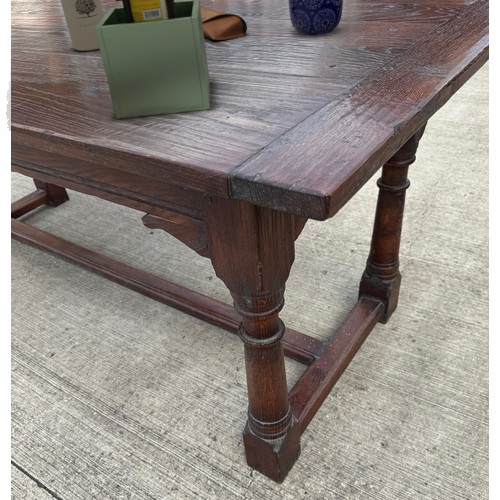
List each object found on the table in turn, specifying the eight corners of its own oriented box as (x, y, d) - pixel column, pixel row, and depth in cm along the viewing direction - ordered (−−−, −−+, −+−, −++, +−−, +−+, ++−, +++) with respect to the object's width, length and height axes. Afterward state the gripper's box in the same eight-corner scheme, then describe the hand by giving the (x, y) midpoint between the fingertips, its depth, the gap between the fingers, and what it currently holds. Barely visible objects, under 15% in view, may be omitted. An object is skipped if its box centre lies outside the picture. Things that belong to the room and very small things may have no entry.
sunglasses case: (173, 28, 117) (182, -2, 115) (198, 38, 121) (207, 10, 120) (214, 40, 104) (225, 7, 102) (240, 51, 109) (251, 20, 107)
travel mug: (74, 45, 114) (49, -48, 103) (110, 40, 115) (89, -52, 104) (73, 53, 107) (46, -44, 97) (111, 48, 108) (88, -49, 98)
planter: (284, 38, 103) (282, -23, 96) (295, 25, 111) (293, -32, 105) (338, 37, 100) (340, -26, 93) (345, 24, 108) (347, -35, 102)
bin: (116, 119, 74) (94, 27, 67) (128, 88, 85) (110, 7, 78) (209, 109, 74) (197, 17, 67) (209, 80, 85) (199, -2, 78)
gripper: (193, -194, 62) (216, 11, 76) (43, -178, 62) (93, 23, 76) (191, -202, 56) (216, 21, 70) (25, -185, 56) (83, 35, 70)
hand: (152, 22), depth 73 cm, fingers closed on supplement bottle, 5 cm apart
